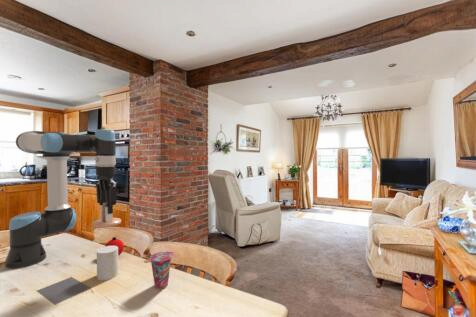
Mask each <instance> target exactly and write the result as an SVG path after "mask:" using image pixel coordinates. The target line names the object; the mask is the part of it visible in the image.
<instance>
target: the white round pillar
mask: <svg viewBox="0 0 476 317" xmlns="http://www.w3.org/2000/svg"><path fill="white" fill-rule="evenodd" d="M119 274H120V273H119V256H118V247H117V246H106V247H105V246H102V247H99V248H98V249H97V250H96V278H97V280H98V281H109V280H112V279H115V278H116V277H117V276H118V275H119Z"/></svg>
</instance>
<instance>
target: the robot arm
mask: <svg viewBox="0 0 476 317" xmlns="http://www.w3.org/2000/svg"><path fill="white" fill-rule="evenodd" d="M116 141H117V140H116V132H115V131H114V130H113V129H99V128H98V129H96V130H95V133H94V134H93V135H91V134H90V135H89V134H88V135H87V134H74V133H73V134H69V133H66V132H60V131H44V130H43V131H40V130H29V131H24V132H22V133H20V134H19V135H17V137H16V138H15V144H16V145H15V146H16V147H17V148H18V149H19V150H20V151H22V152H24V153H27V154H34V155H35V154H37V155H42V157H43V159H44V160H46V175H47V176H46V177H47V178H46V179H47V183H46V184H47V206H46V207H45V208H44V209H43V210H44V211H43V213H42V212H41V211H30V212H25V213H21V214H17V215H15V216H14V217H12V218H11V219H10V220H9V227H8V230H9V233H8V234H9V249H8V250H9V251H8V252H7V255H6V258H5V261H4V266H5V268H7V269H19V268H26V267H29V266H33V265H36V264H38V263H41V262H43V261H44V260H45V259H46V258H47V252H46V249H45V247H44V246H43V243H42V237H45V236H46V237H47V236H49V235H51V236H52V235H54V234H58V233H63V232H67V231H70V230H72V229H73V228H74V226H75V224H76V222H77V213H76V210H75V209H74V208H72V205H70V204H69V200H68V199H69V197H68V195H69V194H68V160H69V159H70V158H71V155H72V154H74V153H95V159H94V160H95V166H96V167H95V175H96V176H99V177H98V180H95V182H94V183H95V188H96V190H95V191H96V203H97V204H99V206H100V219H101V221H103V203H104V202H106V205H105V220H106V222H109V221H113V218H114V216H113V215H114V214H113V213H114V212H113V211H114V210H113V208H114V207H113V206H114V205H117V194H118V193H117V192H118V190H117V188H118V184H119V183H118V181H114V180H115V179H114V176H115V175H116V174H117V167H116V164H117V162H116V160H117V159H116V158H117V156H116V154H117V153H116V150H117V149H116V146H117V145H116Z"/></svg>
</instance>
